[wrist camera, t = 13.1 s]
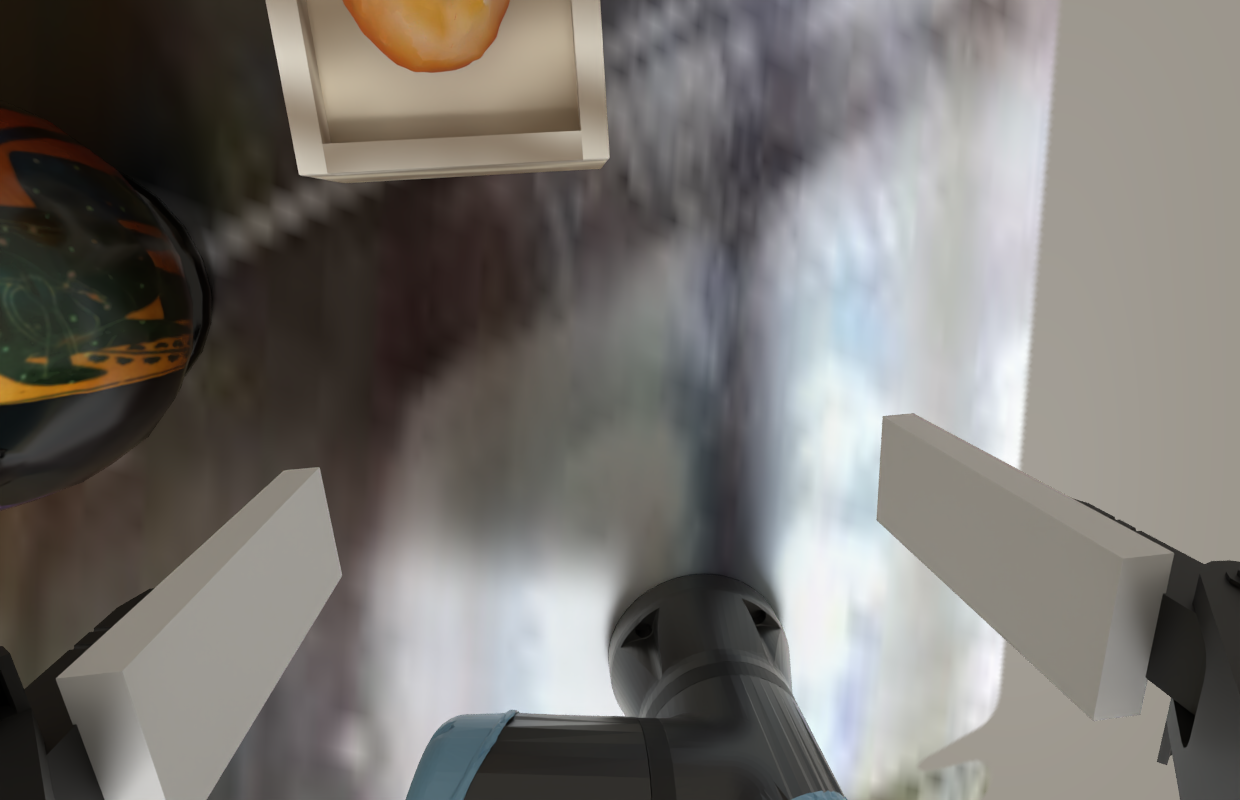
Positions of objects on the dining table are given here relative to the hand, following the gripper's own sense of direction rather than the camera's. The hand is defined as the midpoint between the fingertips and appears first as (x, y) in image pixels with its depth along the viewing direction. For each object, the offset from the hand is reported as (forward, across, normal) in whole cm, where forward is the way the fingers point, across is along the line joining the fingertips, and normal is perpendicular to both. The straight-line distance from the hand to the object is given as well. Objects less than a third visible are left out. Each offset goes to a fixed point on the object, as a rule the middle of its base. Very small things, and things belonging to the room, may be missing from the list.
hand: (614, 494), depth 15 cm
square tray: (+32, +6, -18) cm, 37 cm away
